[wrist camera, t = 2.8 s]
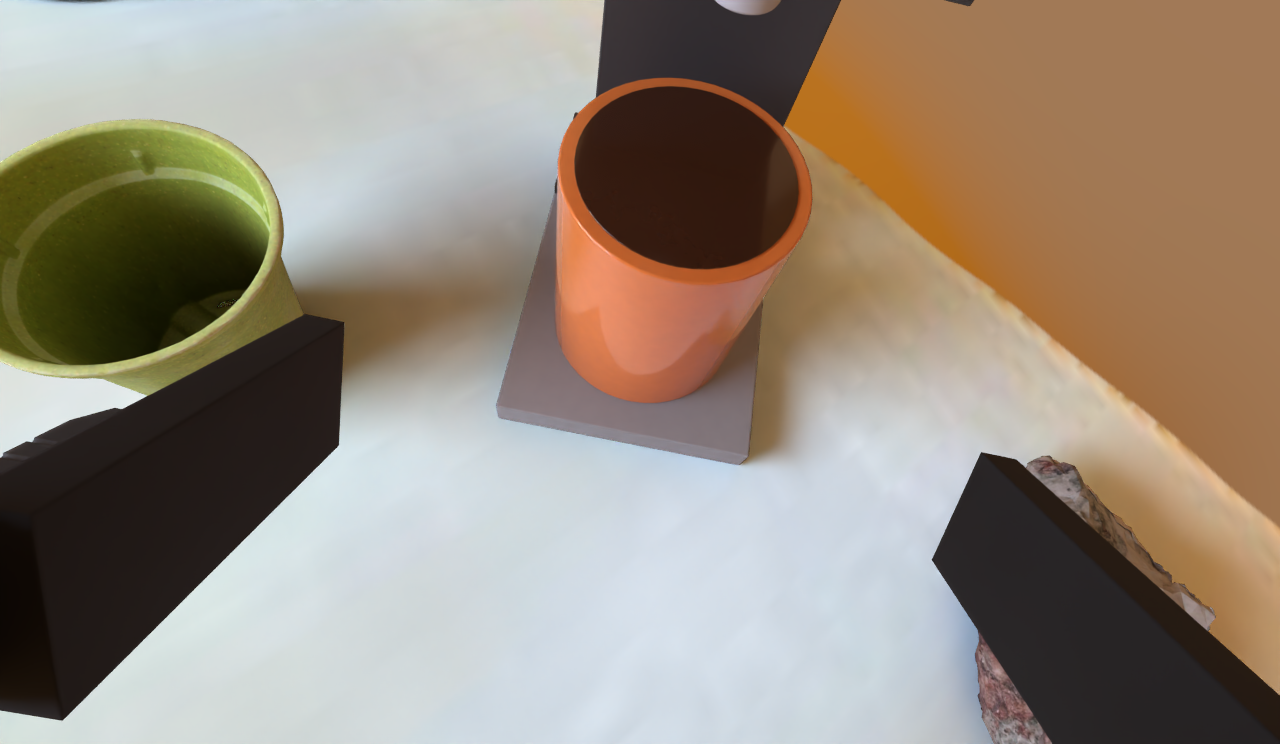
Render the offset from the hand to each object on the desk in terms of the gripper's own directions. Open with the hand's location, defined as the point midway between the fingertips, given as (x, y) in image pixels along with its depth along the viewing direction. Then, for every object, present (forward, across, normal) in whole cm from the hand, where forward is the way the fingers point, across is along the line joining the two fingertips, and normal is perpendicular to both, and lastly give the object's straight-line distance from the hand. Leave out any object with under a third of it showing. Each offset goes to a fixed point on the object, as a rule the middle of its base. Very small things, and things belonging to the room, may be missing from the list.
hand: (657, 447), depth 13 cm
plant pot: (+14, -17, -7) cm, 23 cm away
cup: (+16, 0, -2) cm, 17 cm away
